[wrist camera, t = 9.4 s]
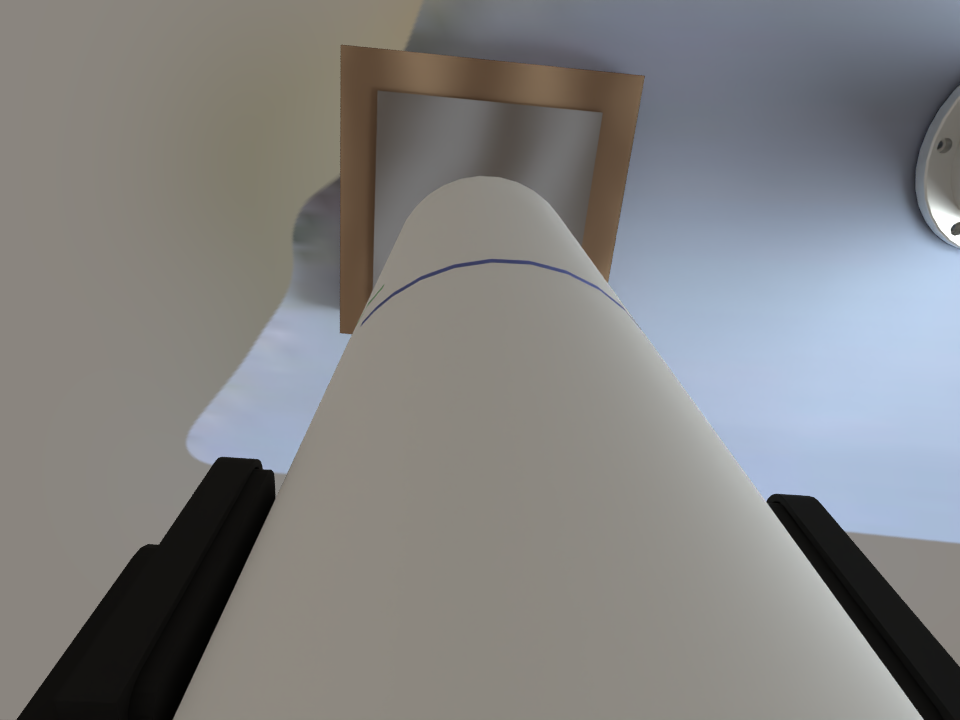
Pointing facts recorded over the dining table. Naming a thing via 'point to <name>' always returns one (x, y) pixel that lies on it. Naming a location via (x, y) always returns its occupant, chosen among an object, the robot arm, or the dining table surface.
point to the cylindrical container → (522, 517)
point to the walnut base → (474, 147)
